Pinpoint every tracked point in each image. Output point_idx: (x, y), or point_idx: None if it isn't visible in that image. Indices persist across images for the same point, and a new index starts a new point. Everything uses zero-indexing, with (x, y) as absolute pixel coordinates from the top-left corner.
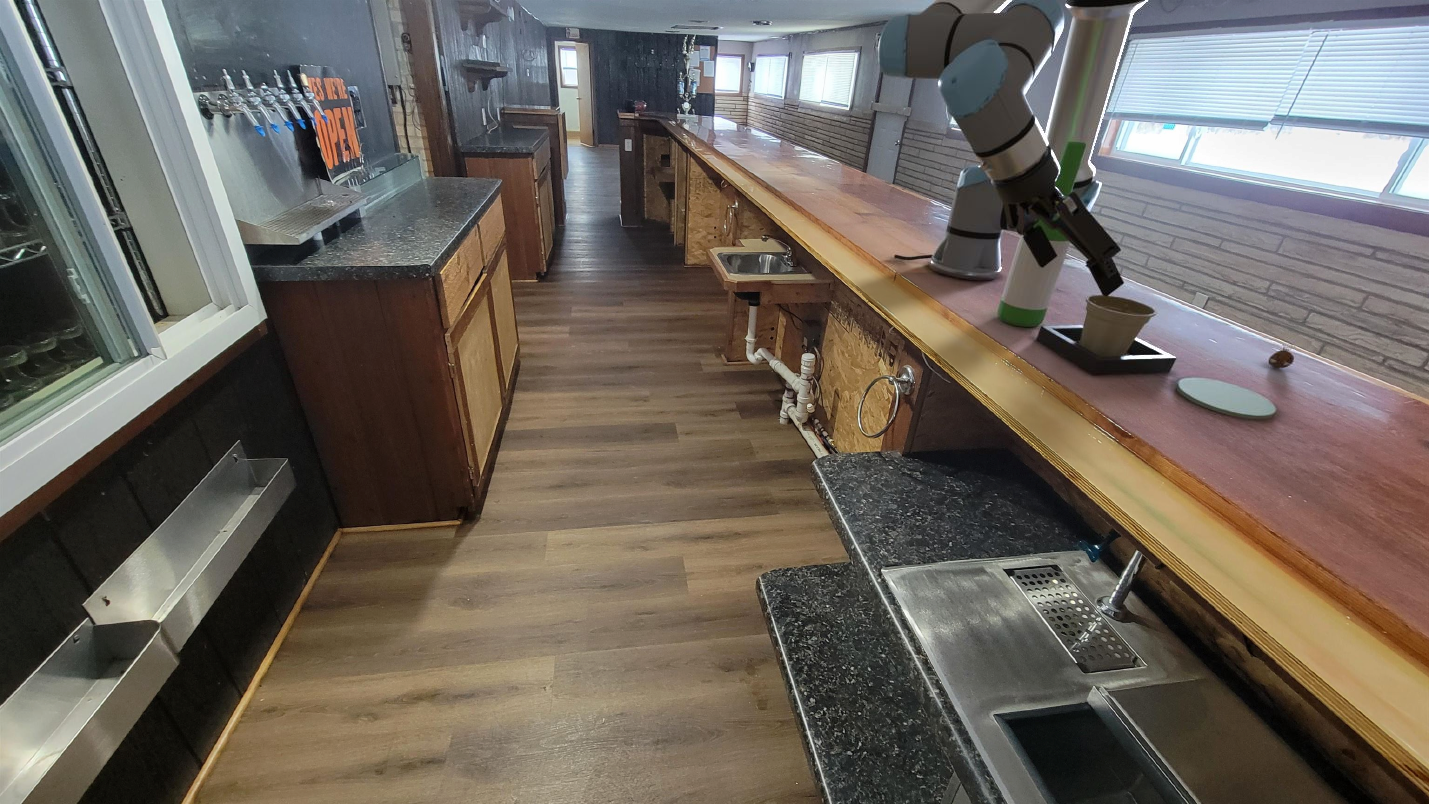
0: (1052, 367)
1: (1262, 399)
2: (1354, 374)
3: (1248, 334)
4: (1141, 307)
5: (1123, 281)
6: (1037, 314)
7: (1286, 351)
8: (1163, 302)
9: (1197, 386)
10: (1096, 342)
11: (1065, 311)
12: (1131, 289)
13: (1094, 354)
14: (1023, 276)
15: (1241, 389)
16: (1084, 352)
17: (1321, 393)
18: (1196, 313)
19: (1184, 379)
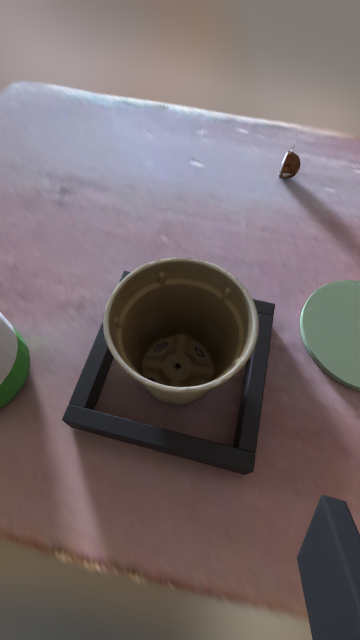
0: (190, 535)
1: None
2: (315, 128)
3: (196, 114)
4: (192, 268)
5: (347, 508)
6: (16, 370)
7: (291, 154)
8: (75, 100)
9: (332, 340)
10: (190, 398)
11: (13, 242)
12: (19, 91)
13: (226, 451)
14: None
15: (348, 288)
16: (207, 459)
17: (355, 202)
18: (122, 102)
19: (307, 334)
